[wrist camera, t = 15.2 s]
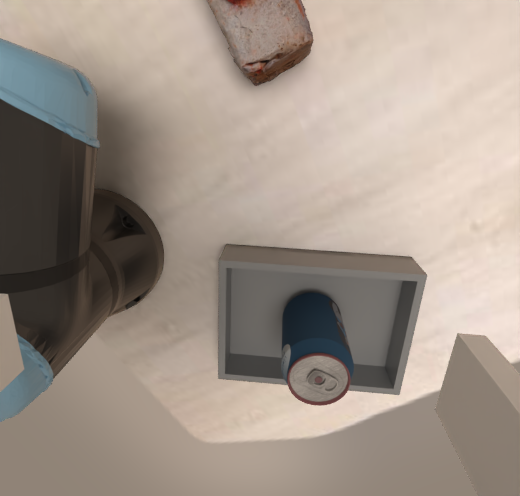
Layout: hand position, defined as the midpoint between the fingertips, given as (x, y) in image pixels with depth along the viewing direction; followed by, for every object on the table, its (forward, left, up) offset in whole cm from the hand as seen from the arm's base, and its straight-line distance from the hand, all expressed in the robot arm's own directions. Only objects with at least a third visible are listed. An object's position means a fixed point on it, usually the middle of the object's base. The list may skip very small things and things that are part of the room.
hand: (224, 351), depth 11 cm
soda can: (+6, -16, -30) cm, 34 cm away
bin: (+6, -16, -31) cm, 35 cm away
